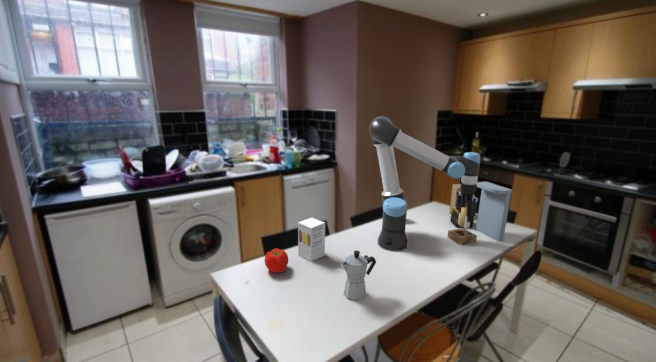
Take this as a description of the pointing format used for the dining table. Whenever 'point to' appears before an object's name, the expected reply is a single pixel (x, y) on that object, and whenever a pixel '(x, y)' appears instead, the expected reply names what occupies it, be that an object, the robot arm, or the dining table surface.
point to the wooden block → (455, 196)
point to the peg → (463, 216)
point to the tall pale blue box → (493, 210)
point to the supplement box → (311, 239)
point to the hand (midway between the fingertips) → (463, 225)
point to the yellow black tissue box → (455, 218)
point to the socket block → (462, 236)
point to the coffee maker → (356, 275)
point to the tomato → (276, 260)
